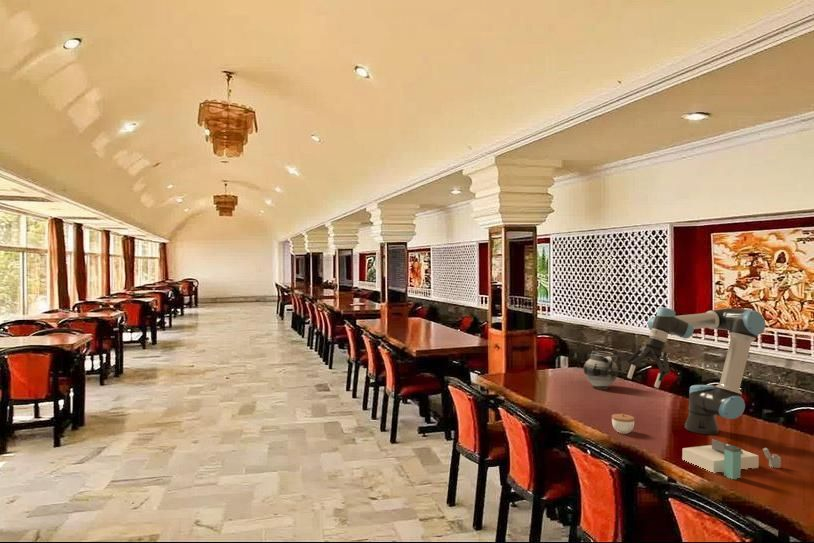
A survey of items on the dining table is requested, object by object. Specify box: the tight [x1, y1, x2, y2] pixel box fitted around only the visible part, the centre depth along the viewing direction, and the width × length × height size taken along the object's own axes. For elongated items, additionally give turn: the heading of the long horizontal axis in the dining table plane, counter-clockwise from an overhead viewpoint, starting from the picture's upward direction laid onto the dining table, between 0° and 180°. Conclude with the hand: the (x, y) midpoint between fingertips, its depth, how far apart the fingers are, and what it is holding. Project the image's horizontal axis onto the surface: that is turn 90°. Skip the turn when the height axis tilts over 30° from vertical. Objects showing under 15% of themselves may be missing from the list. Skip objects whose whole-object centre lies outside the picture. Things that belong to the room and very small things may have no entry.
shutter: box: [711, 438, 743, 453], centre depth 230 cm, size 9×8×4 cm
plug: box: [723, 444, 742, 480], centre depth 214 cm, size 4×4×12 cm
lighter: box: [762, 447, 782, 469], centre depth 226 cm, size 7×2×8 cm, turn 95°
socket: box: [681, 443, 760, 474], centre depth 229 cm, size 24×16×5 cm, turn 108°
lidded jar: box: [611, 413, 636, 435], centre depth 272 cm, size 11×11×9 cm
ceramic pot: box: [583, 350, 620, 390], centre depth 372 cm, size 29×23×25 cm
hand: (642, 382), depth 251 cm, fingers open, 13 cm apart
